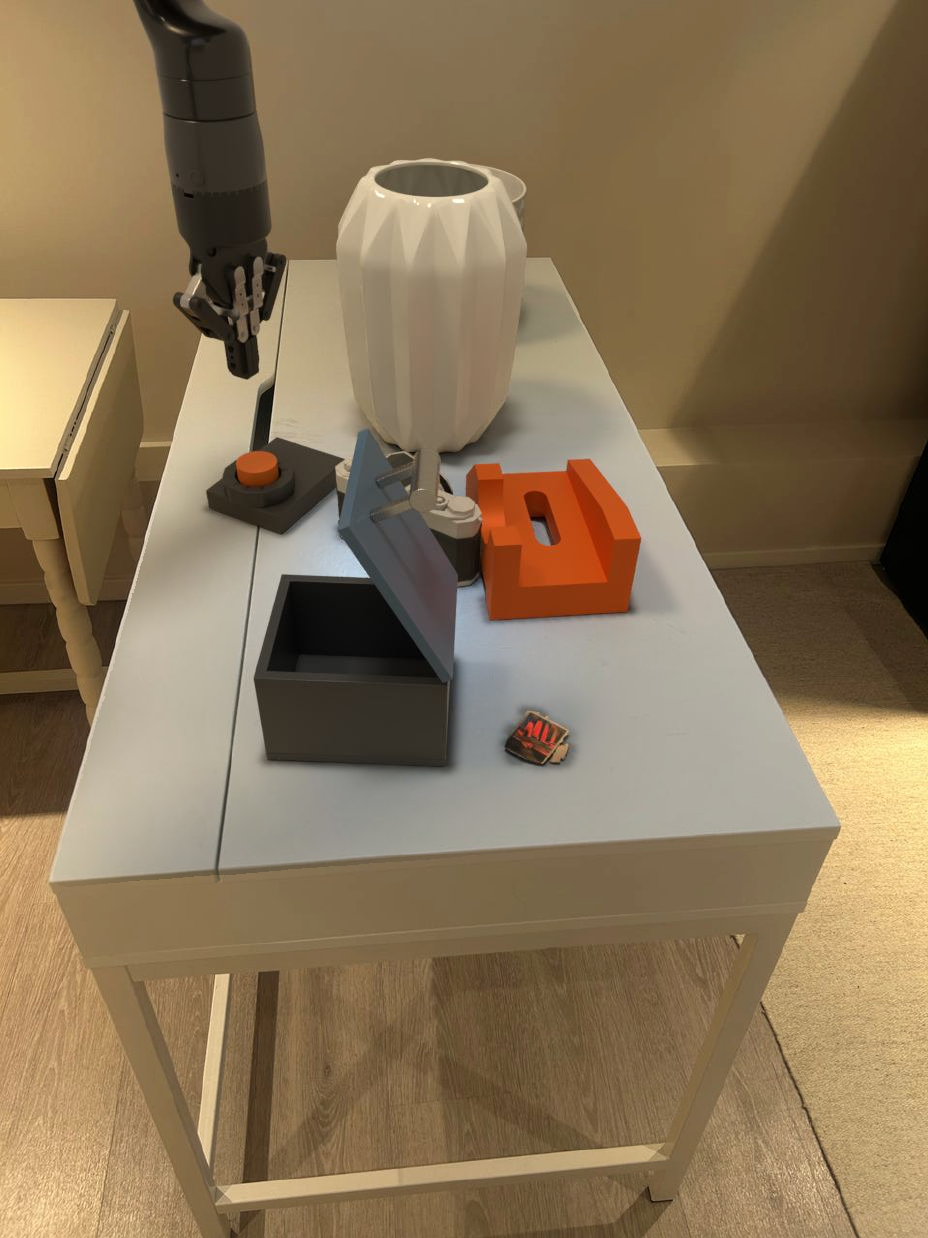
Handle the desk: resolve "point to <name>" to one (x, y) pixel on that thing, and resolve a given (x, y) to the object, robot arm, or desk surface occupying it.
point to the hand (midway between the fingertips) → (244, 374)
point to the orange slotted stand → (583, 542)
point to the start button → (257, 468)
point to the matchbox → (537, 738)
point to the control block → (277, 487)
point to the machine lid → (403, 545)
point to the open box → (346, 679)
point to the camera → (438, 519)
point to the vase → (430, 299)
